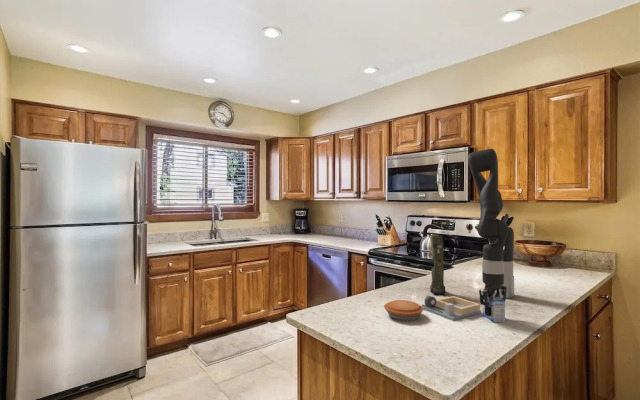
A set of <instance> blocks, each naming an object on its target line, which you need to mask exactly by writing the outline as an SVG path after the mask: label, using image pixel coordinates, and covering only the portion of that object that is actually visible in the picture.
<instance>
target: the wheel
mask: <svg viewBox="0 0 640 400" xmlns="http://www.w3.org/2000/svg"><path fill="white" fill-rule="evenodd" d="M436 300H437V298H435V296H432V295H426V296H425V298H424V301H423V302H424V305H426V306H429V307H434V306H435V305H436Z"/></svg>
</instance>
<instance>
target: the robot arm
mask: <svg viewBox="0 0 640 400" xmlns="http://www.w3.org/2000/svg"><path fill="white" fill-rule="evenodd" d="M467 161H468V166H469V169H470V172H471V175H472V178H473V181H474V184H475V187H476V192H477V196H478V201H479V207H480V218H479V220H478V221H479V222H478V226H477V233H478V236H480V238H482V239H487V240H488V243H487V244H484V245H483V246H482V267H481V268H482V269H481V271H482V277H481V278H482V280H481V281H482V282H483V284H484V288H483V289H479V290H478V294H479V304H480V305H481V306H483V305H484V306H485V315H487V316H491V304H492V303H491V302H492V299H494V298H495V297H499V298H501V299H504V300H505V302H506V300H507V299H511V298H512V299H513V298H514V297H515V276H514V248H515V247H514V246H515V244H514V243H515V233H514V229H513V227H509V225H508V224H507V222H506V221H504V220H502V219H501V220H498V216H499V215H500V214H501V212H502V210H503V207H504V203H503V199H502V193H501V192H500V190H499V161H498V155H497V152H496V150H495V149H494V148H487V149H482V150H476V151H473V152H470V153H469V154H468V155H467ZM484 172H489V173H488V174H489V175H488V178H487V179H486V178H485V177H484V176H483V174H482V173H484ZM487 296H488V297H491V298H488V297H487ZM483 300H484V302H483ZM488 300H489V303H488Z"/></svg>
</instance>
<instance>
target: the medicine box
mask: <svg viewBox="0 0 640 400" xmlns="http://www.w3.org/2000/svg"><path fill="white" fill-rule="evenodd" d="M487 297H488V296H487ZM488 298H491V297H488ZM483 302H484V300H483ZM488 303H489V300H488ZM491 303H492V304H491V316H487V315H485V306H484V305H482V316H484V317H485V318H486V319H488V320H489V321H492V322H493V323H504V322H506V301H505V300H504V299H501V298H499V297H495V298H494V299H492V302H491Z"/></svg>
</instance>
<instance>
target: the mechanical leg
mask: <svg viewBox="0 0 640 400" xmlns="http://www.w3.org/2000/svg"><path fill="white" fill-rule="evenodd" d="M443 243H444V240H443V236H441V235H438V234H431V235H430V246H431V248H430V249H431V260H432V261H433V265H434V266H433V267H431V284H430V285H429V286H430V287H429V290H430V293H432V295H434V296H443V297H444V296H445V294H446V286H445V283H444V279H445V278H444V276H445V275H444V272H445V271H444V270H445V269H444V247H443Z"/></svg>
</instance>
